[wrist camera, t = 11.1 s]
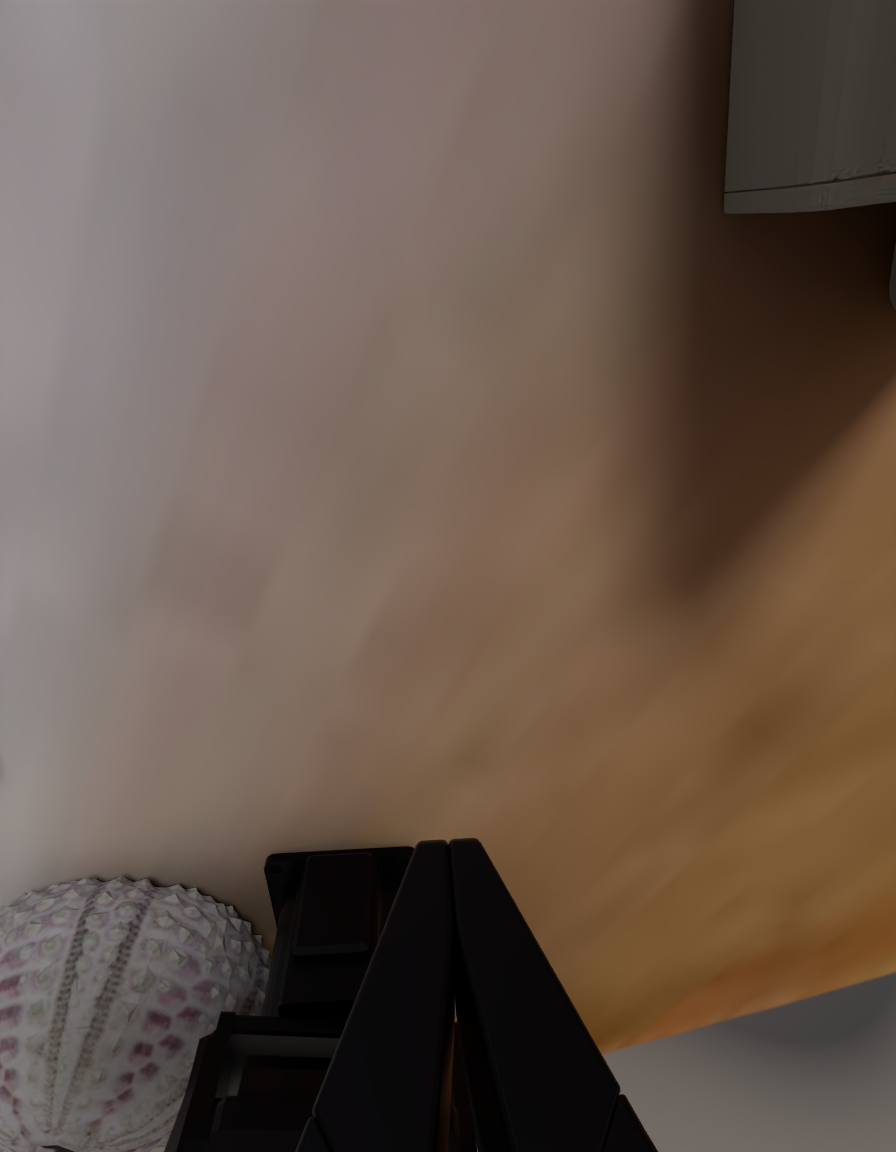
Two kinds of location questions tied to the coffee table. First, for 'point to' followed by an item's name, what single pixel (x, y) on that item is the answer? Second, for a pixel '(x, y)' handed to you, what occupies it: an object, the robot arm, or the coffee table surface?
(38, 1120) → the sea urchin shell
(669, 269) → the coffee table surface
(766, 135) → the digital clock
